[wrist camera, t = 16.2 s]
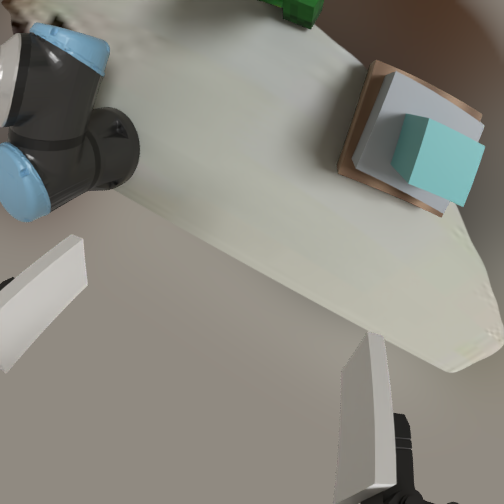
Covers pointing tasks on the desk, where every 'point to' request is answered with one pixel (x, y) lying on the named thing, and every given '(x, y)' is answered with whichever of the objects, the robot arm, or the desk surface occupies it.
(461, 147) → the block
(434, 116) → the tower top
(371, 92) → the tower base
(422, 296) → the desk surface
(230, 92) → the desk surface
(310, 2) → the toy
